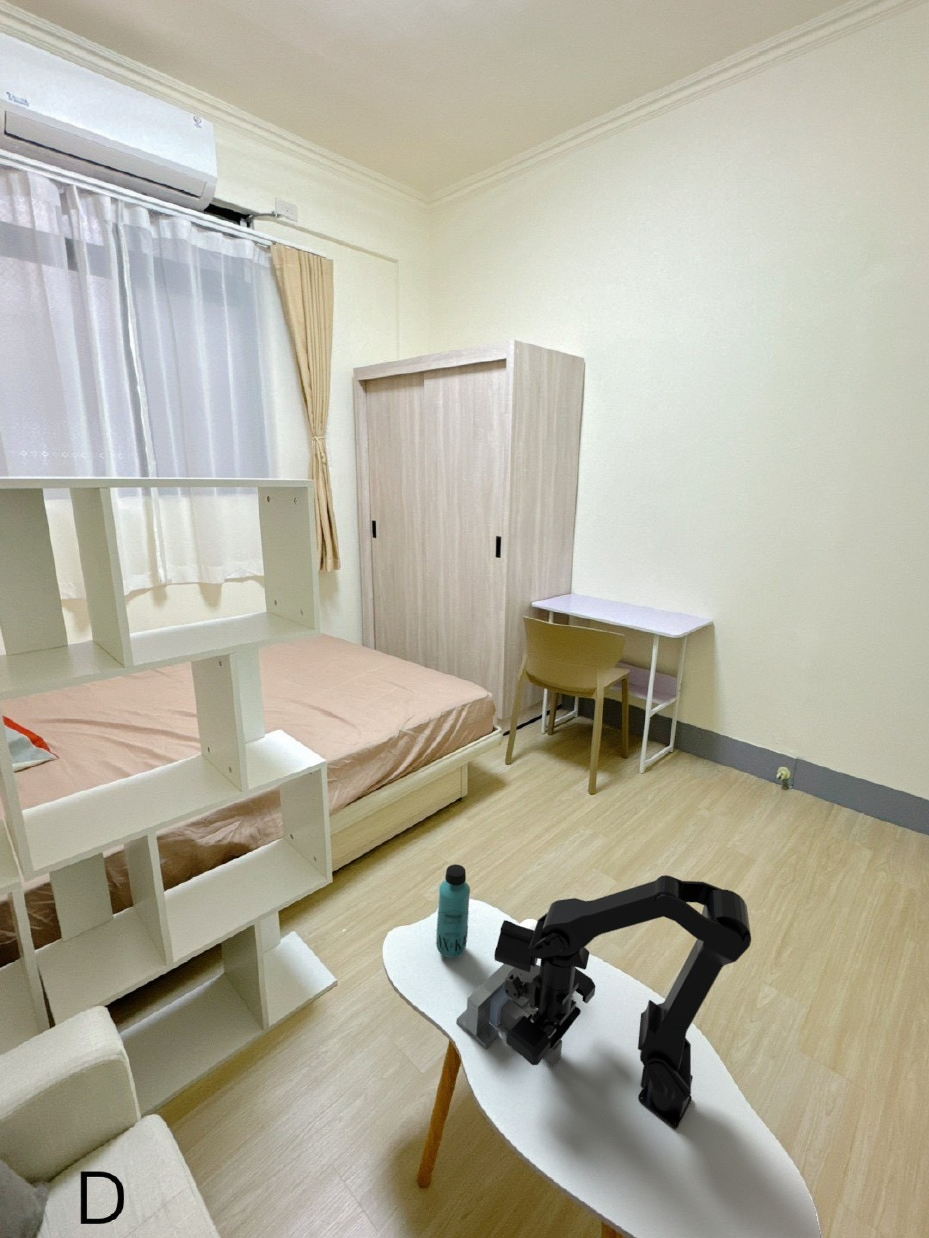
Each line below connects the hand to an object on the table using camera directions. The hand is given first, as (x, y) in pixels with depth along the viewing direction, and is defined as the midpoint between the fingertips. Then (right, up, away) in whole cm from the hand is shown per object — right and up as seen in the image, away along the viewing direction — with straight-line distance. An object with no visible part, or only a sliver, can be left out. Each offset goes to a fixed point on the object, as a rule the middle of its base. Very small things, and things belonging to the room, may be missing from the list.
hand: (548, 1049), depth 100 cm
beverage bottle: (-17, +5, +21) cm, 27 cm away
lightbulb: (-2, +3, +18) cm, 18 cm away
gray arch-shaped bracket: (-9, +1, +8) cm, 12 cm away
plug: (-5, 0, +4) cm, 7 cm away
